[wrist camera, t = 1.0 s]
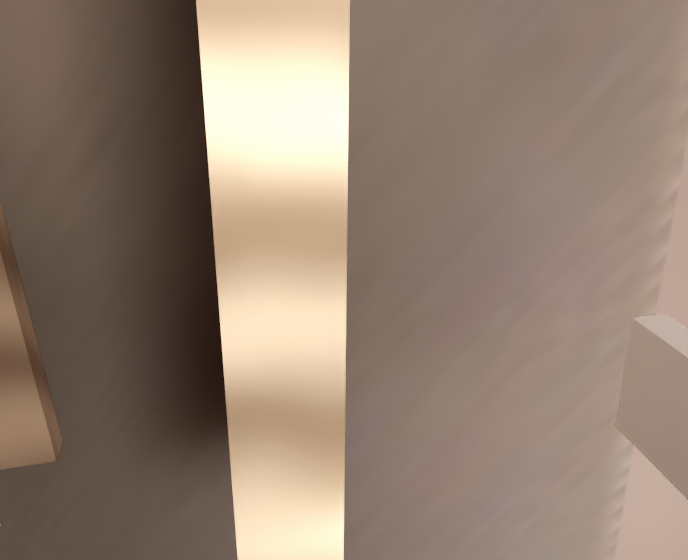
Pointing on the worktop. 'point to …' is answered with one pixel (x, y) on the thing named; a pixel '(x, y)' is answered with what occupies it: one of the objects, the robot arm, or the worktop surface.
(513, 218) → the worktop surface
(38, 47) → the worktop surface
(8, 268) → the walnut board
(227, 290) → the slat
